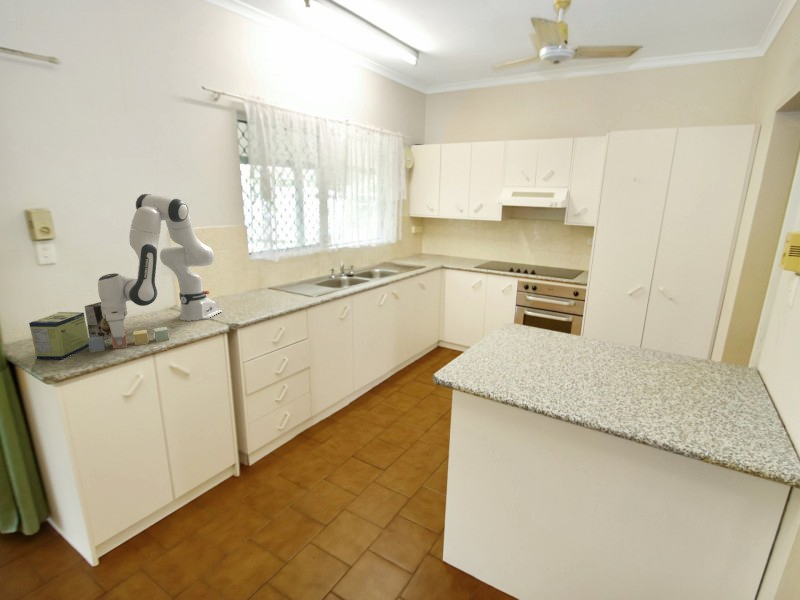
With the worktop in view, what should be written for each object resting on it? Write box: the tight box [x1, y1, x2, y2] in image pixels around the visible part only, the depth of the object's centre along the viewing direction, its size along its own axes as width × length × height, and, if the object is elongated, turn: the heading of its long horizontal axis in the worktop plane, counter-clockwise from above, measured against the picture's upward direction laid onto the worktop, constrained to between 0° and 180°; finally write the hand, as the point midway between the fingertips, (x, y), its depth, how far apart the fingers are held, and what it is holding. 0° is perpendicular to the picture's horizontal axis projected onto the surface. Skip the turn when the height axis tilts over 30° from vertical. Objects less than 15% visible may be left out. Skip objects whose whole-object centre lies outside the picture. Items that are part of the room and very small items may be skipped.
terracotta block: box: [111, 332, 128, 349], centre depth 176 cm, size 5×5×5 cm
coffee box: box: [84, 301, 112, 341], centre depth 184 cm, size 9×6×16 cm
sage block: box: [153, 326, 170, 342], centre depth 185 cm, size 5×5×5 cm
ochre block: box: [132, 329, 149, 346], centre depth 180 cm, size 5×5×5 cm
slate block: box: [88, 336, 106, 353], centre depth 171 cm, size 5×5×5 cm
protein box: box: [28, 311, 89, 360], centre depth 166 cm, size 10×16×16 cm
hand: (119, 342), depth 176 cm, fingers closed on terracotta block, 5 cm apart
